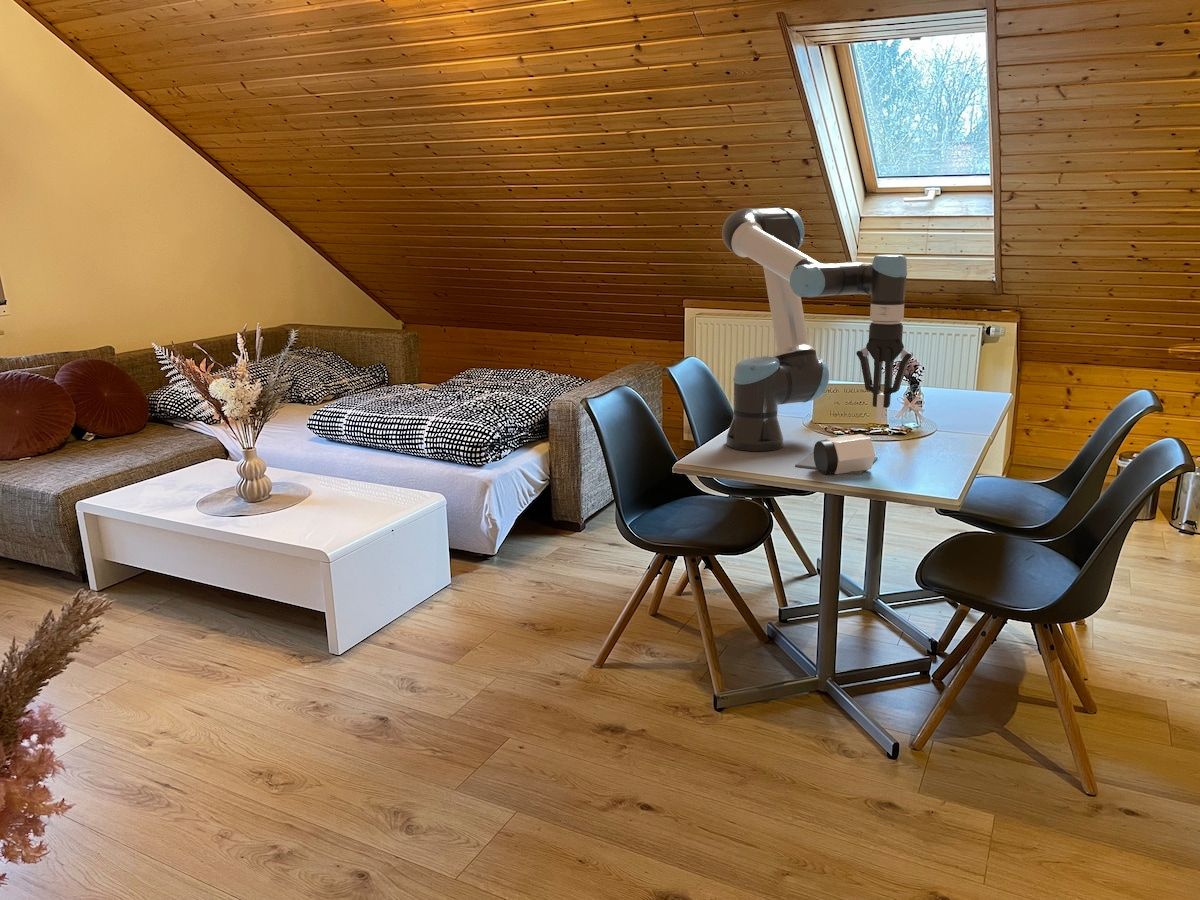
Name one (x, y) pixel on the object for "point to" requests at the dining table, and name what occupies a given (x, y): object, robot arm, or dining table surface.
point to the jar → (844, 454)
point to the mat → (809, 463)
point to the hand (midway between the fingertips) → (880, 420)
